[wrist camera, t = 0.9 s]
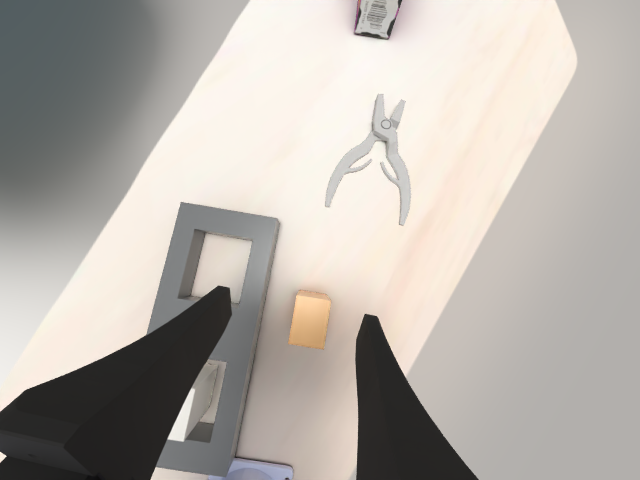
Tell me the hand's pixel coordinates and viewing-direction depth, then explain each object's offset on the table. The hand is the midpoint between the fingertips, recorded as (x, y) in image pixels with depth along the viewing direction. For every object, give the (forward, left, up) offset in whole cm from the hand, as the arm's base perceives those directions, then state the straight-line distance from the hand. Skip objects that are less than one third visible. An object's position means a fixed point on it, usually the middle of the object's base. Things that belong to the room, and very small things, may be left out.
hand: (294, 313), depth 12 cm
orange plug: (-2, -1, -14) cm, 14 cm away
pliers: (+17, -6, -14) cm, 23 cm away
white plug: (-11, +9, -14) cm, 20 cm away
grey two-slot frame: (-5, +9, -14) cm, 17 cm away
